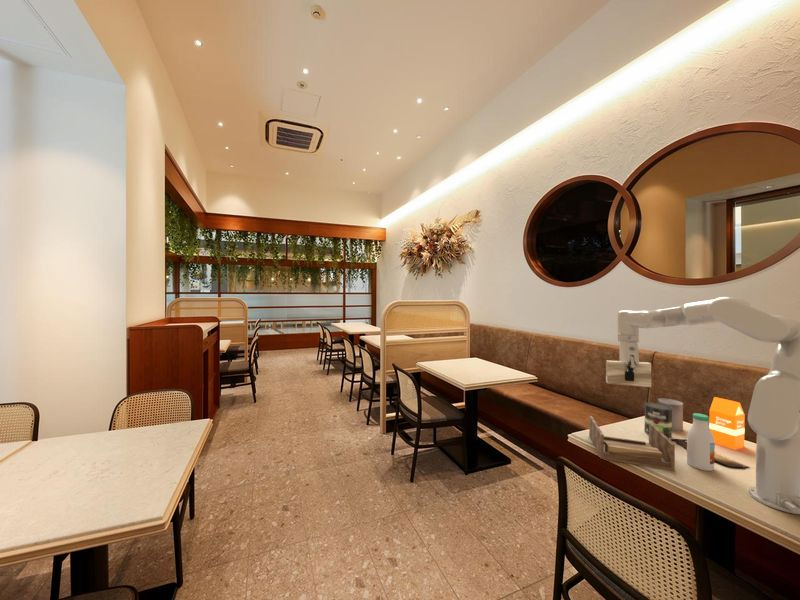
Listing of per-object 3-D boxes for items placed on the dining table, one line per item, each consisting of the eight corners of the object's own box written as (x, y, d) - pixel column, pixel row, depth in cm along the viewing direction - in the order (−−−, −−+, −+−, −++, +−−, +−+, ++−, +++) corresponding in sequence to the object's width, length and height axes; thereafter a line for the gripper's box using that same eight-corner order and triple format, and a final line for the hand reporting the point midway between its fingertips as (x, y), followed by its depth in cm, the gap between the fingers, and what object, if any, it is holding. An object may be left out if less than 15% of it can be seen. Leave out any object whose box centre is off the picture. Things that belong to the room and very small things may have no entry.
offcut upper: (662, 458, 122) (662, 453, 122) (608, 451, 128) (608, 446, 128) (656, 453, 126) (656, 448, 126) (605, 446, 132) (605, 441, 132)
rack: (674, 471, 118) (674, 444, 118) (600, 459, 127) (600, 434, 127) (651, 445, 139) (651, 423, 139) (589, 436, 148) (589, 415, 147)
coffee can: (670, 442, 142) (670, 411, 142) (642, 434, 150) (642, 405, 150) (673, 435, 149) (674, 406, 149) (646, 428, 157) (646, 400, 157)
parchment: (752, 468, 120) (752, 466, 120) (730, 469, 119) (730, 467, 119) (684, 440, 145) (684, 438, 145) (666, 441, 143) (666, 439, 143)
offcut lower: (661, 463, 122) (661, 458, 122) (607, 455, 128) (607, 450, 128) (656, 457, 126) (656, 452, 126) (604, 450, 133) (604, 445, 133)
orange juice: (718, 438, 146) (718, 395, 146) (744, 447, 138) (745, 401, 138) (708, 441, 143) (709, 397, 143) (735, 450, 135) (735, 403, 135)
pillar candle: (660, 423, 164) (660, 394, 164) (685, 429, 157) (685, 399, 157) (655, 427, 158) (655, 398, 158) (680, 434, 151) (680, 403, 151)
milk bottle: (704, 472, 117) (704, 419, 117) (681, 462, 125) (682, 412, 125) (719, 470, 119) (720, 417, 119) (696, 460, 127) (697, 410, 126)
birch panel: (651, 387, 135) (651, 363, 135) (607, 383, 140) (607, 361, 140) (648, 385, 138) (648, 362, 138) (605, 382, 143) (606, 360, 143)
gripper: (645, 340, 130) (645, 385, 130) (631, 336, 145) (631, 376, 145) (624, 340, 132) (624, 383, 132) (612, 336, 148) (612, 375, 148)
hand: (628, 379), depth 139 cm, fingers closed on birch panel, 3 cm apart
